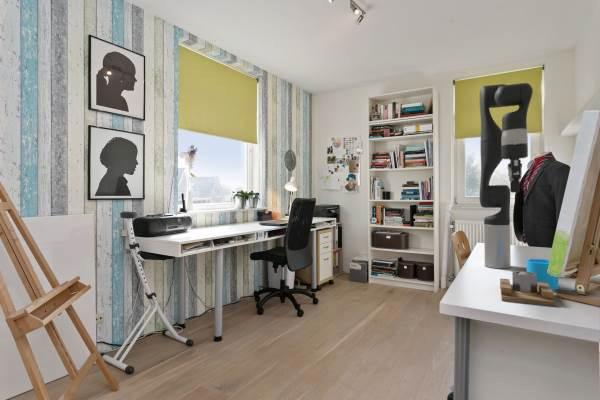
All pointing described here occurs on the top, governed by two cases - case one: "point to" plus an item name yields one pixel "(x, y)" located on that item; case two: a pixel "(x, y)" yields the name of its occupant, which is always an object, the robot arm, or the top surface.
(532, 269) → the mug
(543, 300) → the shaft stand
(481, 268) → the top surface
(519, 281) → the hub
